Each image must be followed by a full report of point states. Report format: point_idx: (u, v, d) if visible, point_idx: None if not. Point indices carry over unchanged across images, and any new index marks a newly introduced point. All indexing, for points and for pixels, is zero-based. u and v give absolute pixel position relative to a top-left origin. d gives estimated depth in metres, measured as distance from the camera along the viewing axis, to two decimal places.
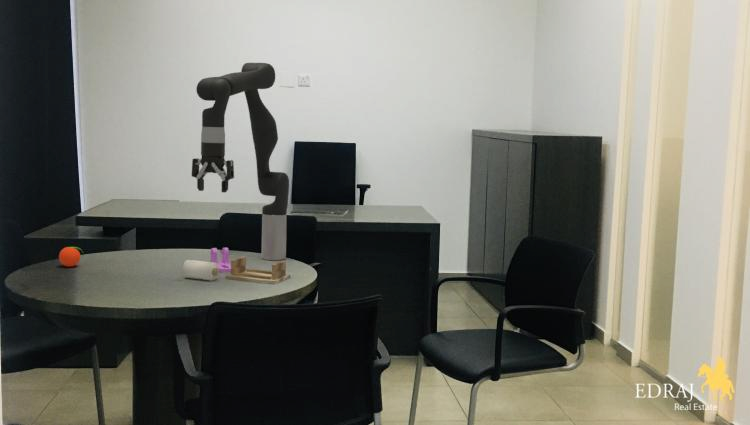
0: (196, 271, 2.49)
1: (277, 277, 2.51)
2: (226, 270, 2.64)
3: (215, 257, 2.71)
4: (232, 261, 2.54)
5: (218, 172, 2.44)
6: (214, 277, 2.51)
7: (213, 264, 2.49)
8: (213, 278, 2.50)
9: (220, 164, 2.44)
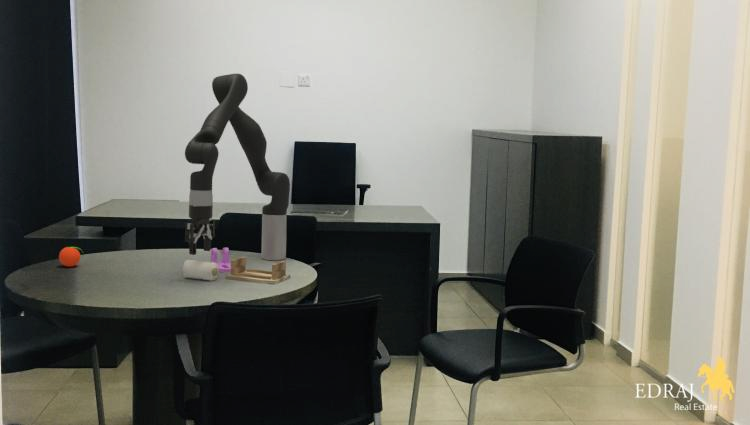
0: (196, 271, 2.49)
1: (277, 277, 2.51)
2: (226, 270, 2.64)
3: (215, 257, 2.71)
4: (232, 261, 2.54)
5: (209, 232, 2.53)
6: (214, 277, 2.51)
7: (213, 264, 2.49)
8: (213, 278, 2.50)
9: (208, 224, 2.53)
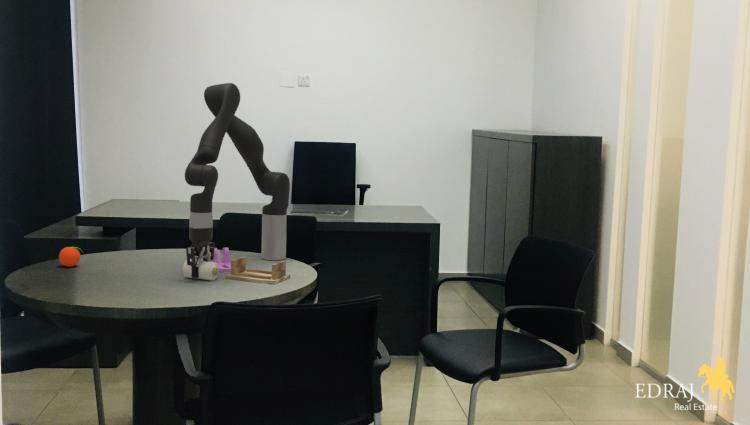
0: None
1: (277, 277, 2.51)
2: (226, 270, 2.64)
3: (215, 257, 2.71)
4: (232, 261, 2.54)
5: (209, 255, 2.53)
6: (214, 277, 2.51)
7: (213, 264, 2.50)
8: (213, 278, 2.50)
9: None
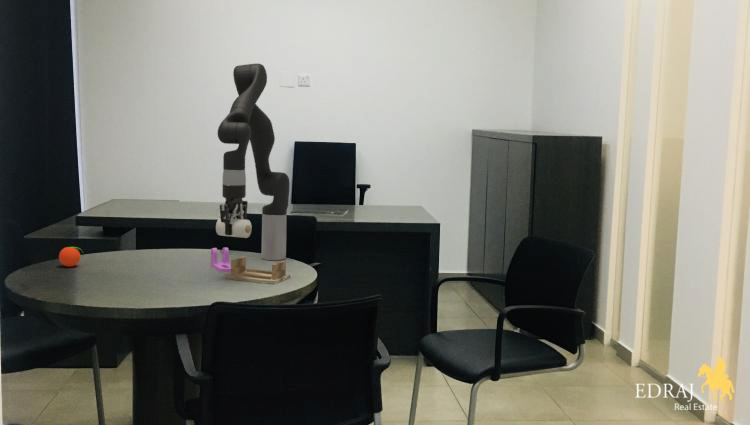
0: None
1: (277, 277, 2.51)
2: (226, 270, 2.64)
3: (215, 257, 2.71)
4: (232, 261, 2.54)
5: (242, 213, 2.54)
6: (247, 234, 2.52)
7: (246, 221, 2.51)
8: (246, 235, 2.51)
9: None
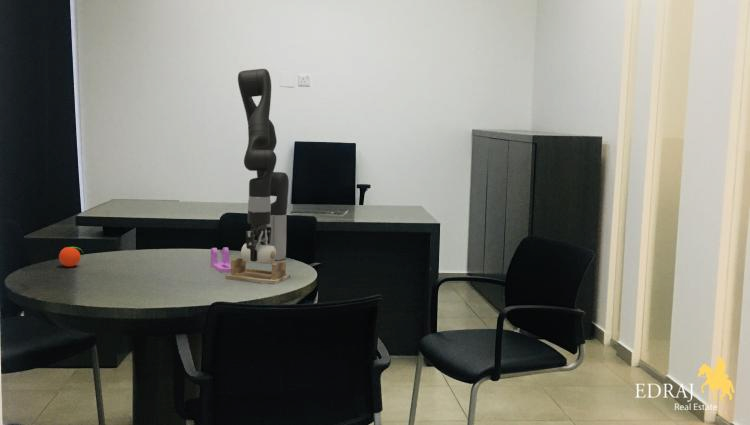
0: None
1: (277, 277, 2.51)
2: (226, 270, 2.64)
3: (215, 257, 2.71)
4: (232, 261, 2.54)
5: (266, 239, 2.57)
6: (272, 260, 2.54)
7: (271, 247, 2.53)
8: (271, 261, 2.54)
9: None
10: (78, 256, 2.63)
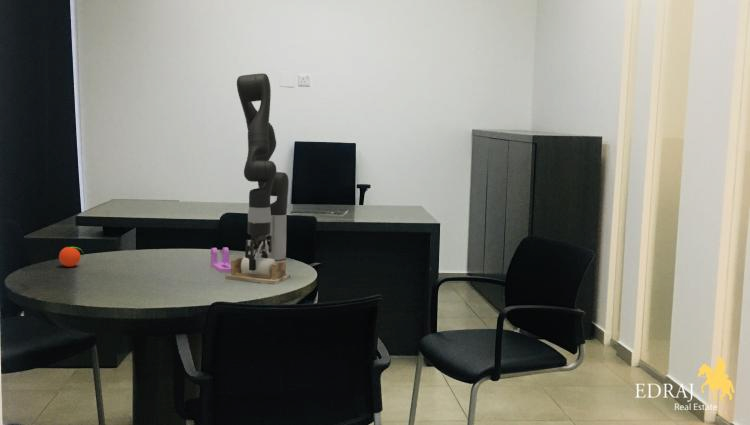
0: None
1: (277, 277, 2.51)
2: (226, 270, 2.64)
3: (215, 257, 2.71)
4: (232, 261, 2.54)
5: (267, 248, 2.57)
6: None
7: (271, 260, 2.54)
8: (271, 274, 2.54)
9: None
10: (78, 256, 2.63)
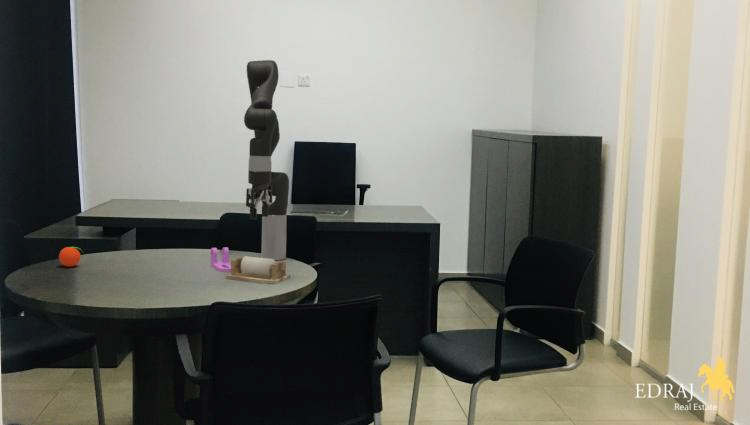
0: (255, 268, 2.53)
1: (277, 277, 2.51)
2: (226, 270, 2.64)
3: (215, 257, 2.71)
4: (232, 261, 2.54)
5: (268, 198, 2.56)
6: None
7: (271, 260, 2.53)
8: (271, 274, 2.54)
9: None
10: (78, 256, 2.63)
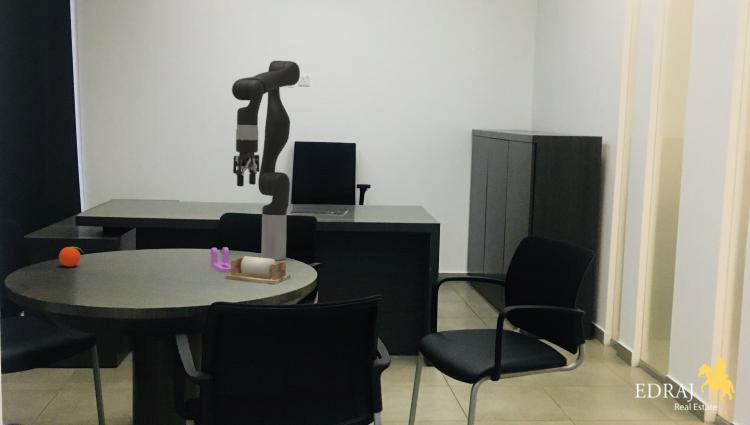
0: (255, 267, 2.53)
1: (277, 277, 2.51)
2: (226, 270, 2.64)
3: (215, 257, 2.71)
4: (232, 261, 2.54)
5: (255, 166, 2.66)
6: None
7: (271, 260, 2.54)
8: (271, 274, 2.54)
9: (254, 159, 2.66)
10: (78, 256, 2.63)
